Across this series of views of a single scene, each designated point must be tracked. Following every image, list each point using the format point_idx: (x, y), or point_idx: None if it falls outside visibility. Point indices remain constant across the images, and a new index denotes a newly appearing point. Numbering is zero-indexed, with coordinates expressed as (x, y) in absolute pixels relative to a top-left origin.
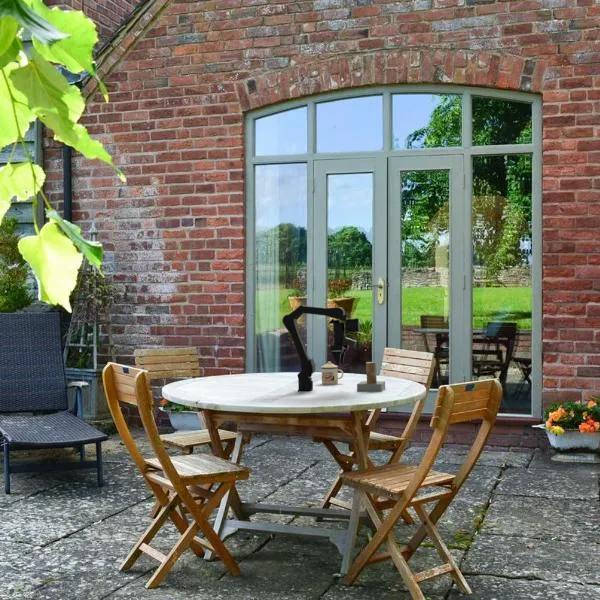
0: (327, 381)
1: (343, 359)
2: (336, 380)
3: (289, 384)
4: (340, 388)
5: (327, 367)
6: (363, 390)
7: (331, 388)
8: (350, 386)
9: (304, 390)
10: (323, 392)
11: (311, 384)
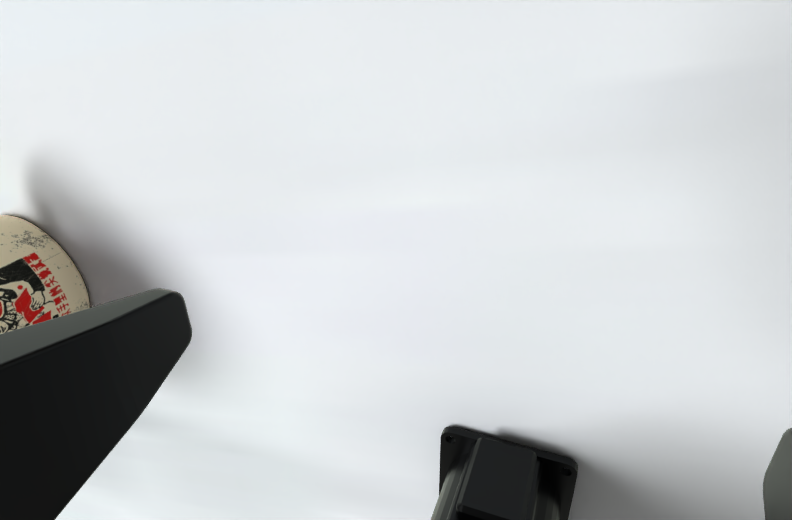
0: (70, 306)
1: (51, 323)
2: (8, 235)
3: (164, 510)
4: (340, 159)
5: None
6: None
7: (346, 257)
8: (157, 58)
9: (570, 504)
10: (748, 345)
11: (527, 495)
